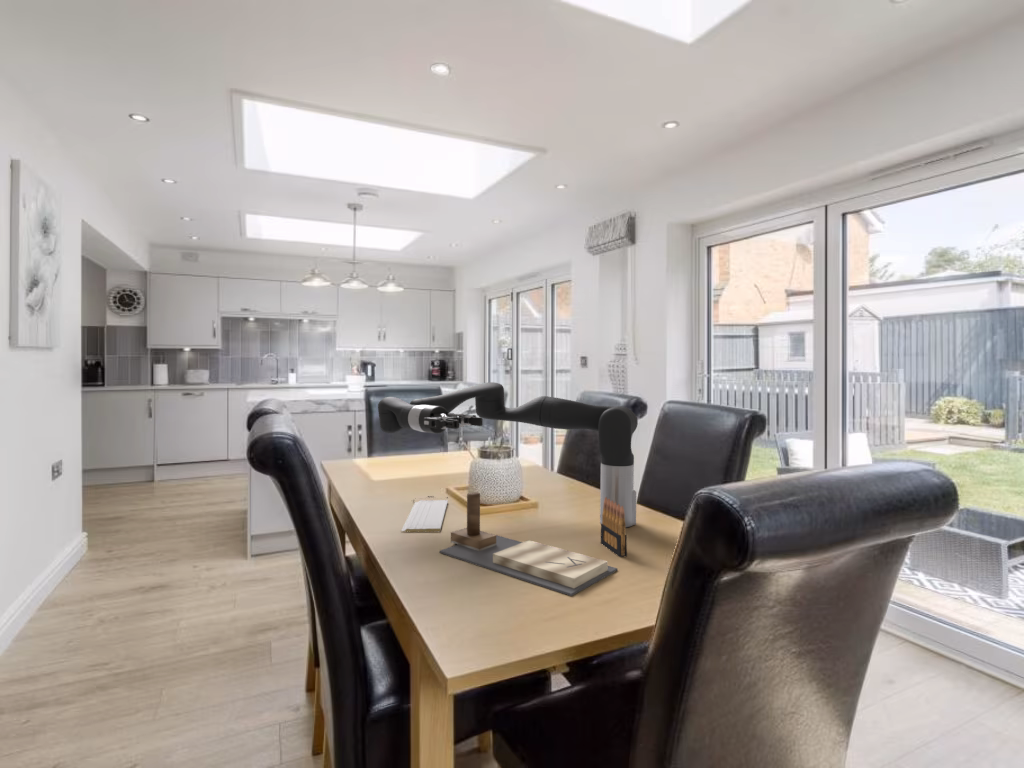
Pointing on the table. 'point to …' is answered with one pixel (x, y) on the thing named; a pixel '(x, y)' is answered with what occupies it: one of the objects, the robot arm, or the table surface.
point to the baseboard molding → (426, 516)
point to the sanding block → (473, 528)
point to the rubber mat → (486, 561)
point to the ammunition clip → (614, 528)
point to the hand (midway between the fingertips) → (470, 423)
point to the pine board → (551, 563)
